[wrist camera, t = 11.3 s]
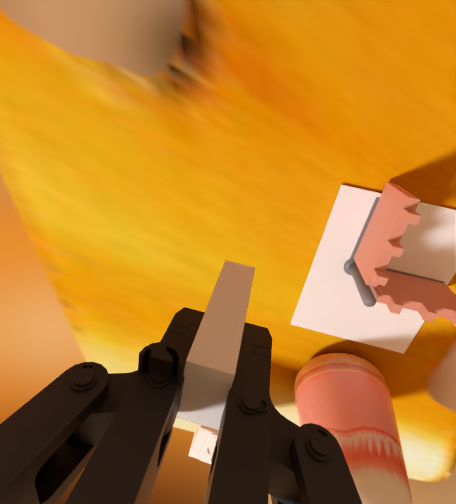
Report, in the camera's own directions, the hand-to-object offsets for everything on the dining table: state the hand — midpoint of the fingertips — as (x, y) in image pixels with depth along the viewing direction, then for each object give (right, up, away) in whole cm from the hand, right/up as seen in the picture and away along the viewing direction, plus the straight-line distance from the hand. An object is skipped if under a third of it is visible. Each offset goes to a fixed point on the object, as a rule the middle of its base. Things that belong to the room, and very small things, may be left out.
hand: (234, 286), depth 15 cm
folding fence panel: (+24, -2, +26) cm, 35 cm away
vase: (+18, -19, +36) cm, 45 cm away
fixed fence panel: (+18, +5, +23) cm, 30 cm away
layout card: (+21, -2, +27) cm, 34 cm away
